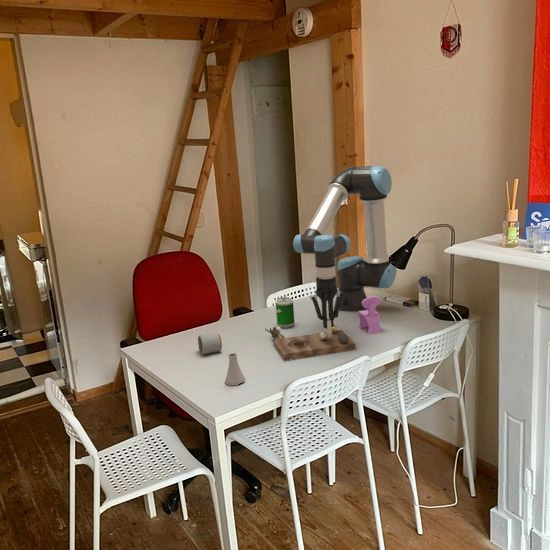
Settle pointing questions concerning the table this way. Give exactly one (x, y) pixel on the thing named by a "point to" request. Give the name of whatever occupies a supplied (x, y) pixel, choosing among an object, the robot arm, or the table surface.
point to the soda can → (285, 312)
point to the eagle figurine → (275, 333)
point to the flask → (234, 371)
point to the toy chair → (370, 315)
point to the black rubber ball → (343, 338)
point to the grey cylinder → (209, 343)
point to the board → (311, 345)
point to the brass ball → (334, 329)
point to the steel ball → (323, 336)
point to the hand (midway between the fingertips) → (328, 335)
